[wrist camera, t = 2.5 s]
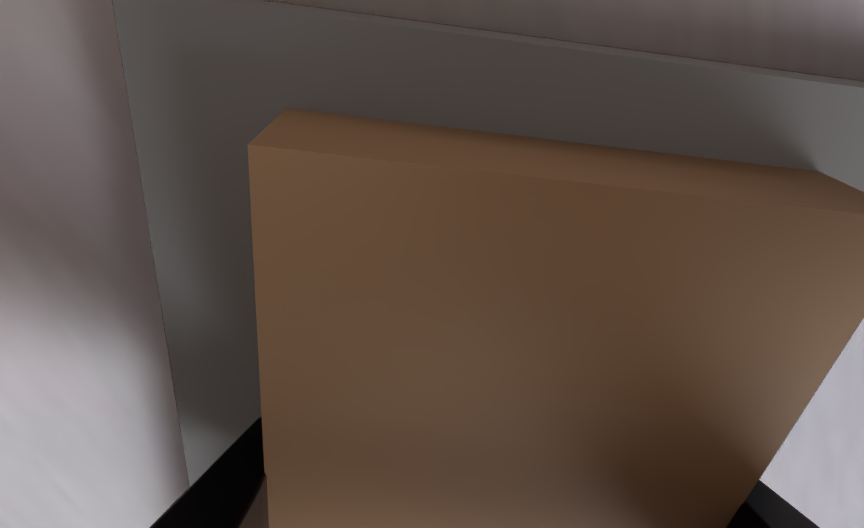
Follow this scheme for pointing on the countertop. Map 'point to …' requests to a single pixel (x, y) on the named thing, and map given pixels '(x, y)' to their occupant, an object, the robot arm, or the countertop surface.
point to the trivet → (405, 102)
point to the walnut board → (533, 325)
